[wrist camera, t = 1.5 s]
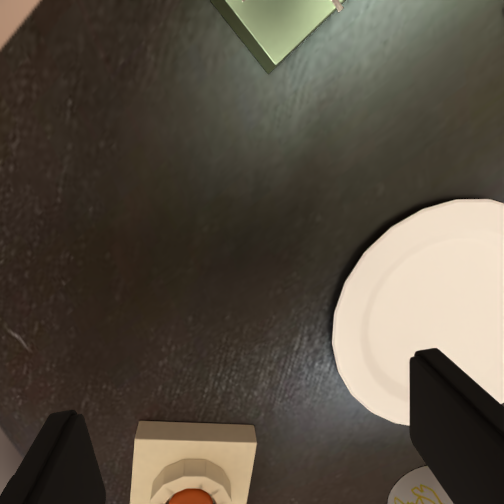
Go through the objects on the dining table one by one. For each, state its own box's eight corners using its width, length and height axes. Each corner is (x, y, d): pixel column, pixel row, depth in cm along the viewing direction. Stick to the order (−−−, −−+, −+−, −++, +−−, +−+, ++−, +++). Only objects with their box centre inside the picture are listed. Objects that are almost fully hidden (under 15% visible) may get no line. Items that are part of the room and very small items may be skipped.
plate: (565, 179, 31) (585, 181, 29) (541, 394, 37) (557, 406, 35) (317, 215, 29) (324, 219, 28) (334, 434, 35) (340, 449, 34)
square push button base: (132, 511, 35) (123, 556, 31) (139, 420, 32) (130, 457, 29) (239, 512, 37) (243, 555, 33) (254, 424, 34) (260, 460, 30)
